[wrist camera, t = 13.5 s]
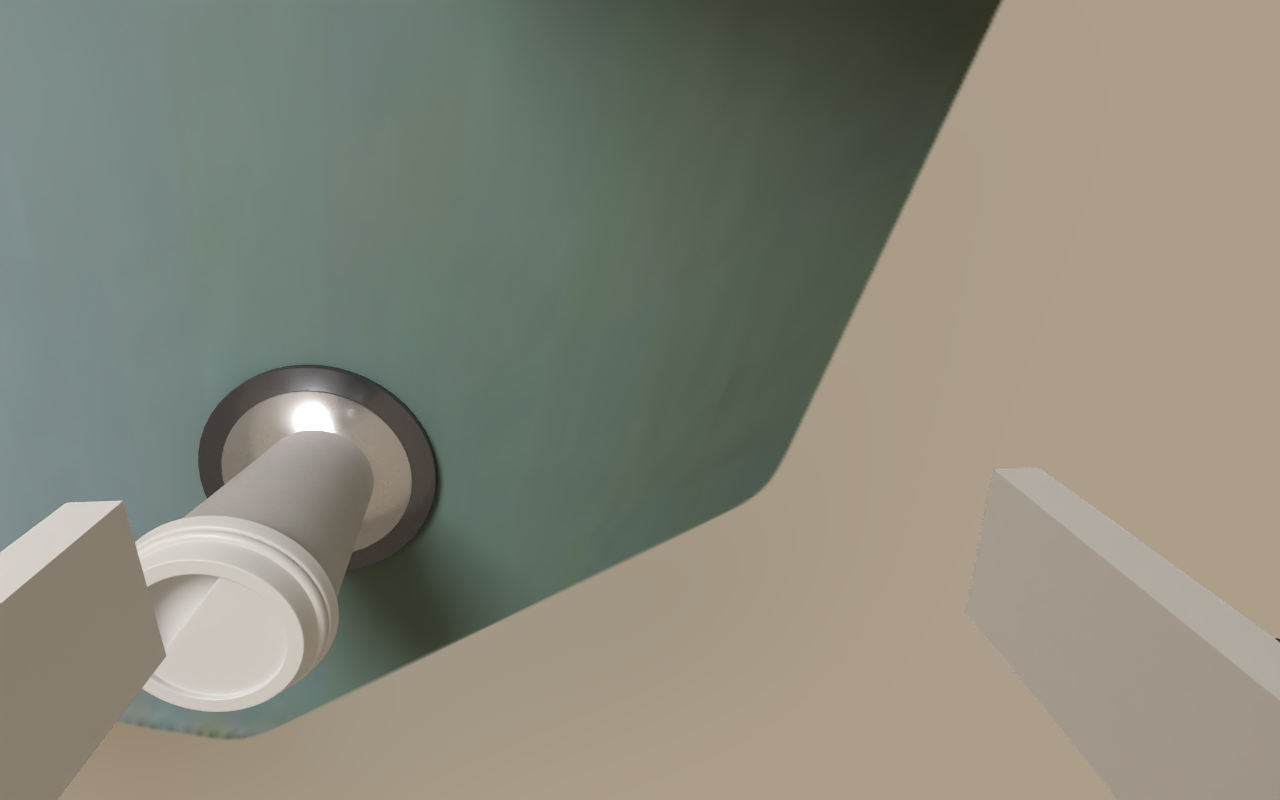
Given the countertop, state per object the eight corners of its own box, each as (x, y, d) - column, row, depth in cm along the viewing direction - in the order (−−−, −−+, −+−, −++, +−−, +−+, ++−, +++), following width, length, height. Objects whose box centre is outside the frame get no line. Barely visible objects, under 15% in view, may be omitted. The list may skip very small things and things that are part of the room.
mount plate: (180, 367, 42) (172, 371, 41) (425, 362, 43) (422, 366, 43) (227, 571, 47) (221, 579, 46) (446, 561, 48) (444, 568, 48)
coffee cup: (337, 378, 42) (225, 503, 28) (429, 502, 46) (369, 667, 32) (202, 451, 43) (28, 608, 29) (302, 568, 47) (190, 758, 33)
